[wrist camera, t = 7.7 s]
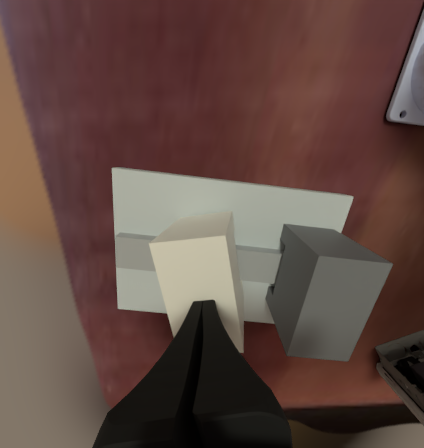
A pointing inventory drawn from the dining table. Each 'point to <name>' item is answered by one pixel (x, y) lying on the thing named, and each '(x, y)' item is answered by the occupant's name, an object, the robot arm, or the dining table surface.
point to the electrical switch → (405, 370)
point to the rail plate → (257, 255)
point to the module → (201, 270)
